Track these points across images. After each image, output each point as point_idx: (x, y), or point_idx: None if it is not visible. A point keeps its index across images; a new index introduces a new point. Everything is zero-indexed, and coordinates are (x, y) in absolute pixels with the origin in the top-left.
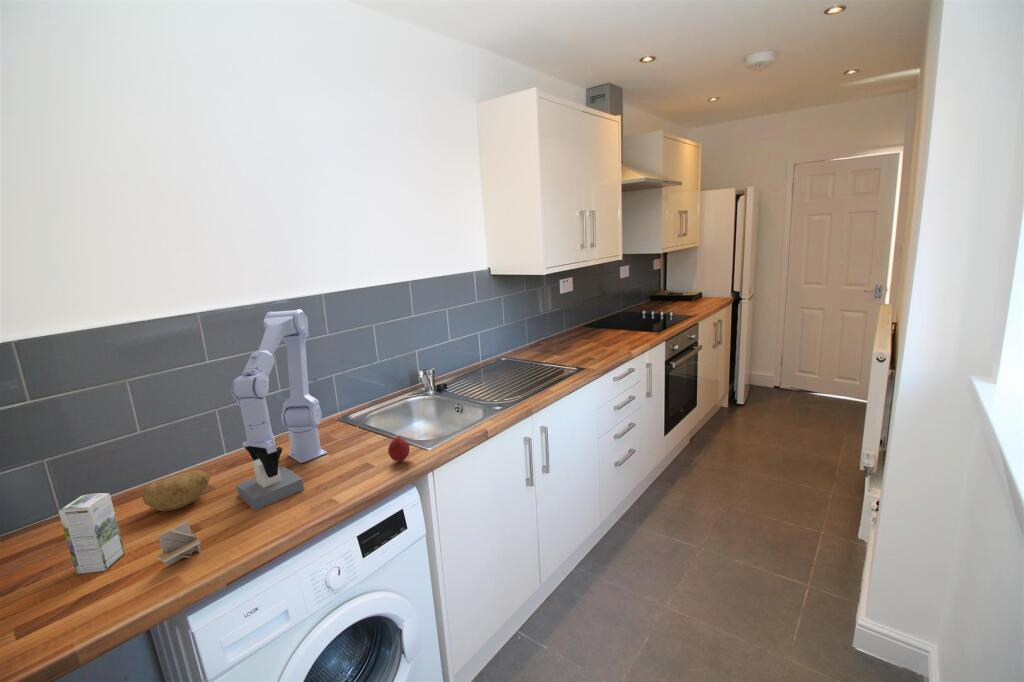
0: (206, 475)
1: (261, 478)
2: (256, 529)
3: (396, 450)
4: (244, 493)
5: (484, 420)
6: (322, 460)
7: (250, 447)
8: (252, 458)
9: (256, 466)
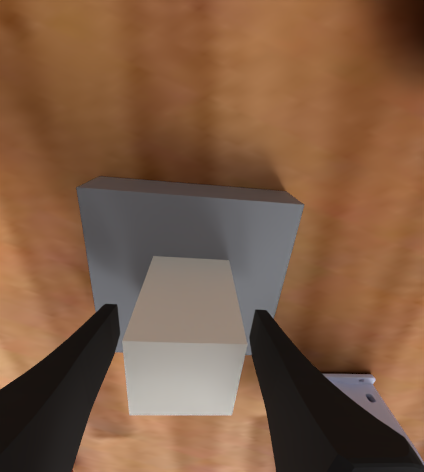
0: None
1: (143, 283)
2: None
3: None
4: (194, 194)
5: None
6: (247, 399)
7: (320, 462)
8: (292, 355)
9: (177, 326)
